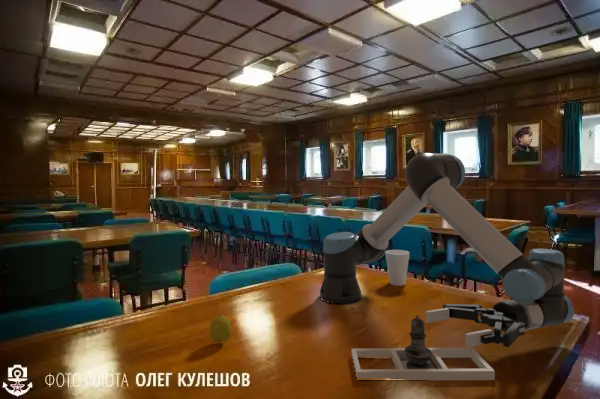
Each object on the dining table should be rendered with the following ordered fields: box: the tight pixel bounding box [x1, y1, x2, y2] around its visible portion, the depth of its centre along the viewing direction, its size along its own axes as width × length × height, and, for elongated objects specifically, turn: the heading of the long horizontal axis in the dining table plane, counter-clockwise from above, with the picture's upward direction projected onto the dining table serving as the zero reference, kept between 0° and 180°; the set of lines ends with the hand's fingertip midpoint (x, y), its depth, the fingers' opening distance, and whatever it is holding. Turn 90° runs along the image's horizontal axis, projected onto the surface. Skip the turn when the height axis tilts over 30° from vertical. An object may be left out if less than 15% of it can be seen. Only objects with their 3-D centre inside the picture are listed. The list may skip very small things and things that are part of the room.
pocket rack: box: [350, 347, 496, 381], centre depth 80 cm, size 29×10×2 cm, turn 88°
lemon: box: [209, 314, 232, 343], centre depth 95 cm, size 6×6×8 cm
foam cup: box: [384, 249, 410, 287], centre depth 144 cm, size 10×9×13 cm
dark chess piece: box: [404, 314, 432, 369], centre depth 80 cm, size 6×6×12 cm
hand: (444, 327), depth 82 cm, fingers open, 13 cm apart
